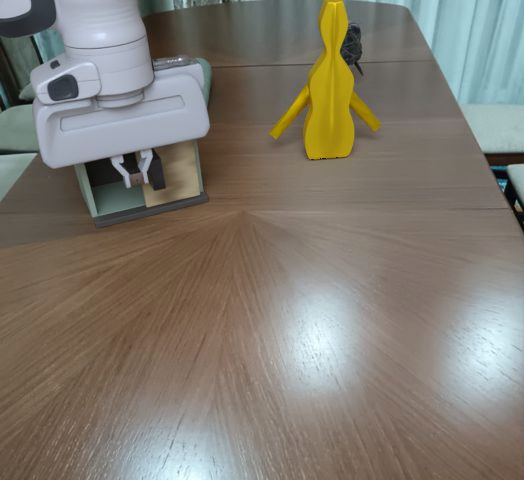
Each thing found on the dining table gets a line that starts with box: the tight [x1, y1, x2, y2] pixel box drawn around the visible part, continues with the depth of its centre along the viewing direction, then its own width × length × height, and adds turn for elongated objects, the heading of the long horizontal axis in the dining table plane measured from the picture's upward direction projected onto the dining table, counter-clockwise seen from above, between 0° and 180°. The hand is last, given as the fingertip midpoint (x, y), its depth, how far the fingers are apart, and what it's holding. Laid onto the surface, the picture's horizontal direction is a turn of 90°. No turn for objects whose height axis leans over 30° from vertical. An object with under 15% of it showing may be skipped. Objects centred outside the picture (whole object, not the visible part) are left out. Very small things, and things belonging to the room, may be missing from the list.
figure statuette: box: [268, 0, 382, 160], centre depth 84 cm, size 18×8×22 cm, turn 95°
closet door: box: [135, 140, 200, 207], centre depth 75 cm, size 8×5×11 cm, turn 113°
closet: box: [73, 138, 209, 229], centre depth 79 cm, size 16×12×13 cm
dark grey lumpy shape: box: [340, 20, 365, 77], centre depth 108 cm, size 8×11×20 cm
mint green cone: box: [190, 57, 213, 108], centre depth 108 cm, size 5×6×27 cm
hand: (136, 184), depth 72 cm, fingers closed
